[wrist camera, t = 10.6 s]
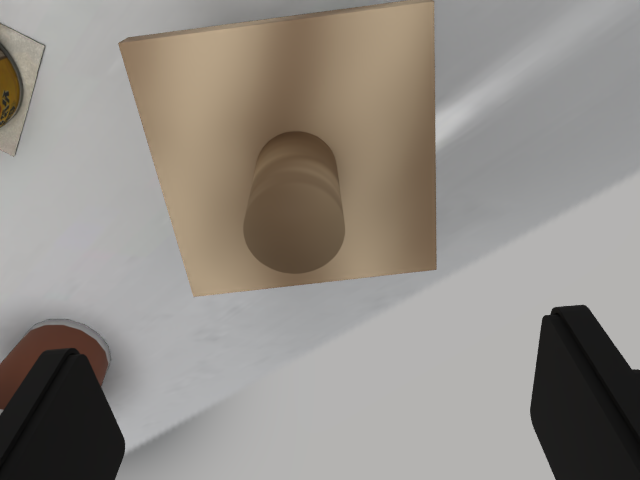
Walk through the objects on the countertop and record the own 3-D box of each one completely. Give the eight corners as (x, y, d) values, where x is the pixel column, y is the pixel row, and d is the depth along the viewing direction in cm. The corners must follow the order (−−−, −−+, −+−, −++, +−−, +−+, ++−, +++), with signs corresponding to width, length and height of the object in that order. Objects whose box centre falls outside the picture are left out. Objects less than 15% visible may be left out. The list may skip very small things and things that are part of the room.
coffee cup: (-13, 364, 40) (-124, 513, 30) (29, 283, 37) (-81, 420, 26) (100, 410, 43) (34, 561, 33) (149, 339, 39) (93, 484, 29)
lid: (426, -2, 19) (475, 22, 13) (430, 255, 24) (466, 345, 19) (128, 37, 19) (59, 76, 14) (198, 281, 25) (168, 376, 19)
